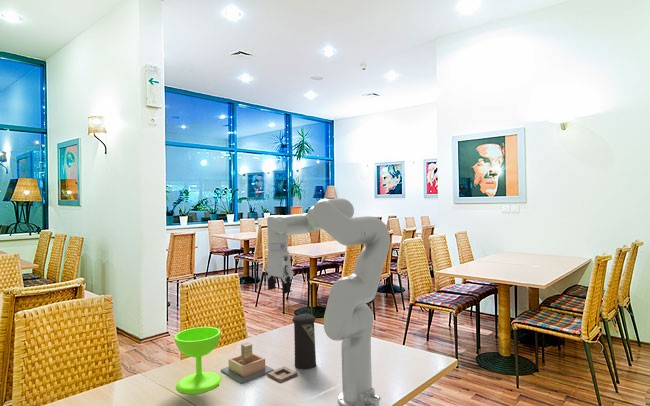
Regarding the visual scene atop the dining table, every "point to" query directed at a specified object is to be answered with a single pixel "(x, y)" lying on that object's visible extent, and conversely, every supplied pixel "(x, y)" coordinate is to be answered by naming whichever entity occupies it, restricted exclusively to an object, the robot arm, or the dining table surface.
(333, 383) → the dining table surface
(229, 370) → the grey base square tray
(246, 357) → the tan wooden bar
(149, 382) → the dining table surface
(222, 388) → the dining table surface
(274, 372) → the brown square tray
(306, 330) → the container
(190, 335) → the wineglass
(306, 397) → the dining table surface
